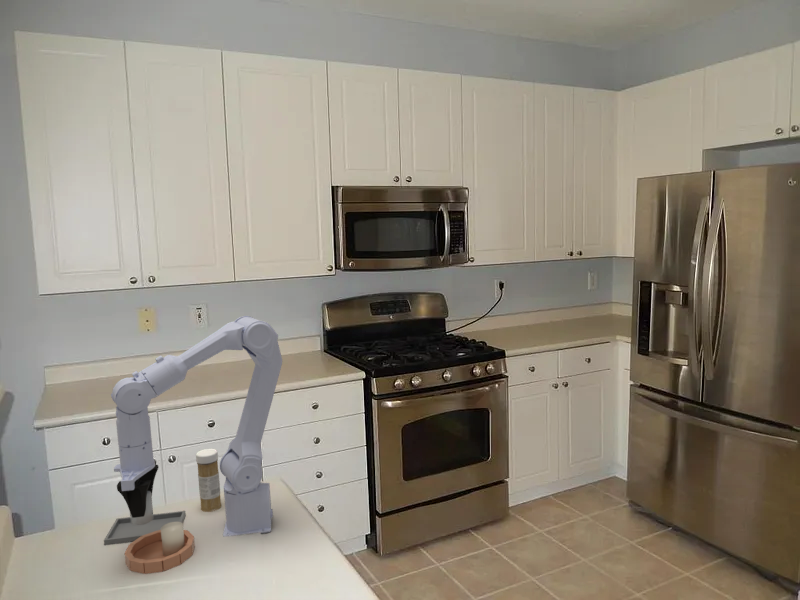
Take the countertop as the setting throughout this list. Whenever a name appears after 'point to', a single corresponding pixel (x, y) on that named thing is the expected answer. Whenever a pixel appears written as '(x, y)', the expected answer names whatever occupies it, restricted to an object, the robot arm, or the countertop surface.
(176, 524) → the cream rounded cylinder
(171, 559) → the bowl
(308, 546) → the countertop surface
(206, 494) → the sprinkles bottle
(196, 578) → the countertop surface
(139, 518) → the grey rounded cylinder
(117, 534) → the tray
